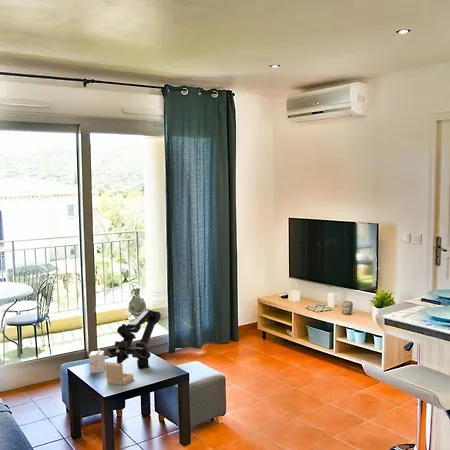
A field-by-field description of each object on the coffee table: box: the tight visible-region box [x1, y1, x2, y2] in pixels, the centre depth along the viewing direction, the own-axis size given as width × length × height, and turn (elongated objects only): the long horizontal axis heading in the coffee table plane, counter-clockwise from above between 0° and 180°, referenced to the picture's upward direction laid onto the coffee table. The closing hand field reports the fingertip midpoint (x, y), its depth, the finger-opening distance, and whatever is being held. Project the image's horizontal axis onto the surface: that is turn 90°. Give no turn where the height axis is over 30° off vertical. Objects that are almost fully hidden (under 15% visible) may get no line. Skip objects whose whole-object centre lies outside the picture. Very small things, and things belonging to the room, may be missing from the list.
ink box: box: [88, 348, 106, 374], centre depth 321 cm, size 9×8×13 cm
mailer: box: [106, 372, 135, 386], centre depth 301 cm, size 10×12×3 cm
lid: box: [105, 361, 124, 381], centre depth 295 cm, size 10×12×1 cm
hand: (117, 365), depth 299 cm, fingers closed
